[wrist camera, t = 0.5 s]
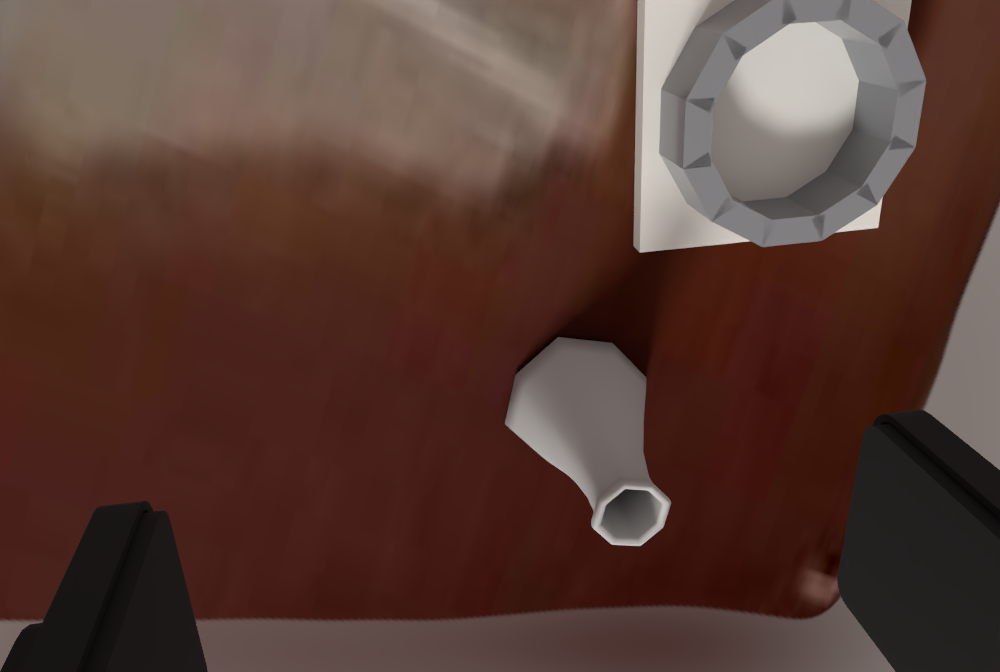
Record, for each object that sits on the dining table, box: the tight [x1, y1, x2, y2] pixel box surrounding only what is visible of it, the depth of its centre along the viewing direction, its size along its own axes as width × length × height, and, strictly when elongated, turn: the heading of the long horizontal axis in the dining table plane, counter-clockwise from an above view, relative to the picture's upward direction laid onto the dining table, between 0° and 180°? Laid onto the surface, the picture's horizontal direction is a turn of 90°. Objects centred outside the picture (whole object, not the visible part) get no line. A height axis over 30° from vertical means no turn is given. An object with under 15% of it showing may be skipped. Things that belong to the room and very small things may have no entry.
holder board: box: [633, 0, 926, 253], centre depth 35 cm, size 16×12×4 cm
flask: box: [505, 337, 671, 546], centre depth 38 cm, size 7×7×10 cm
